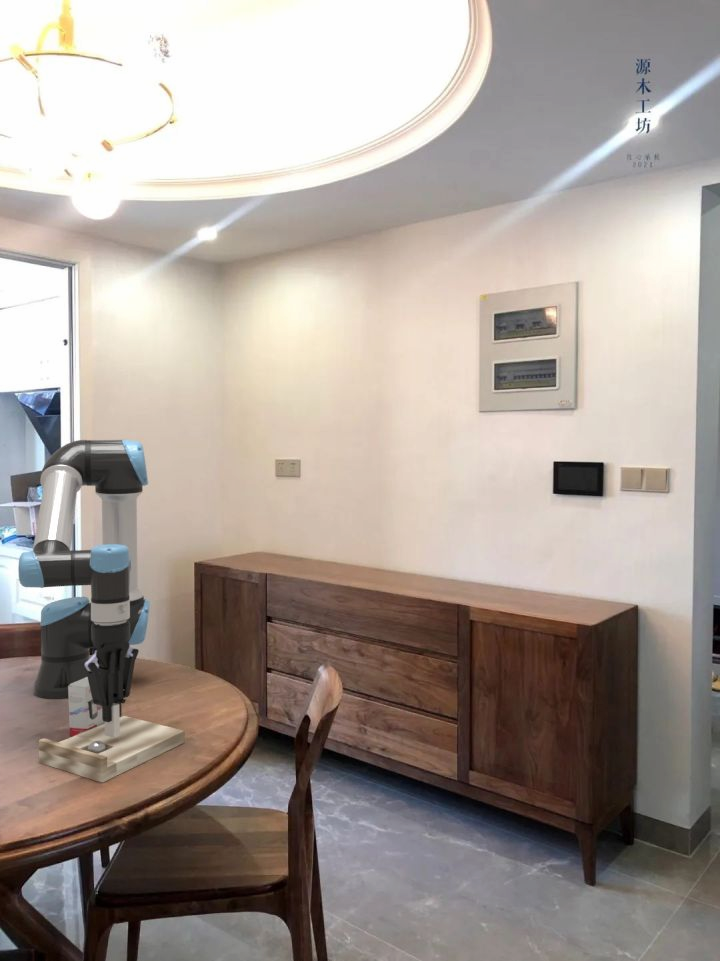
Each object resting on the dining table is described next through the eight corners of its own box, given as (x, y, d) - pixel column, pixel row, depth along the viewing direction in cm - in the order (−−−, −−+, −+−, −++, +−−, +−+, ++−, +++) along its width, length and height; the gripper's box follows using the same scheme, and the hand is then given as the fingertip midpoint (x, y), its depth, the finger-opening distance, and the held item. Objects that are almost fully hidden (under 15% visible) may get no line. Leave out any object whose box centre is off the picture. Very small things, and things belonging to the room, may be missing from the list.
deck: (39, 762, 147) (38, 740, 147) (124, 726, 166) (124, 706, 166) (102, 782, 138) (102, 758, 138) (184, 742, 158) (184, 721, 157)
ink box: (87, 742, 158) (86, 687, 157) (67, 739, 159) (66, 685, 159) (112, 727, 166) (112, 675, 165) (93, 725, 167) (92, 673, 167)
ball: (80, 754, 147) (89, 736, 149) (93, 759, 150) (101, 742, 152) (91, 758, 145) (100, 740, 147) (104, 763, 148) (113, 746, 150)
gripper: (97, 630, 143) (99, 750, 144) (147, 617, 155) (149, 728, 156) (71, 625, 147) (73, 742, 148) (122, 613, 158) (123, 721, 159)
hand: (112, 735), depth 152 cm, fingers closed
